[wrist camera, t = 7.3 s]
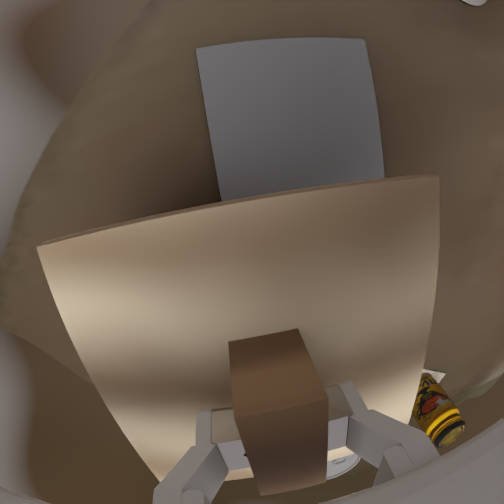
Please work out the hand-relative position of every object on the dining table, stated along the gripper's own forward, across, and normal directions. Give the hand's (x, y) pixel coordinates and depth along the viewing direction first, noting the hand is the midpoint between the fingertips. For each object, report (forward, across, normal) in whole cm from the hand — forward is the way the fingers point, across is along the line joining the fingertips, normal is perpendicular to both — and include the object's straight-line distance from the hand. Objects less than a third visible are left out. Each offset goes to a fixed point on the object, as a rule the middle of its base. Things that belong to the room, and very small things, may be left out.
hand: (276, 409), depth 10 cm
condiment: (+22, -24, +29) cm, 44 cm away
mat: (+20, -7, -11) cm, 24 cm away
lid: (+2, 0, 0) cm, 2 cm away
